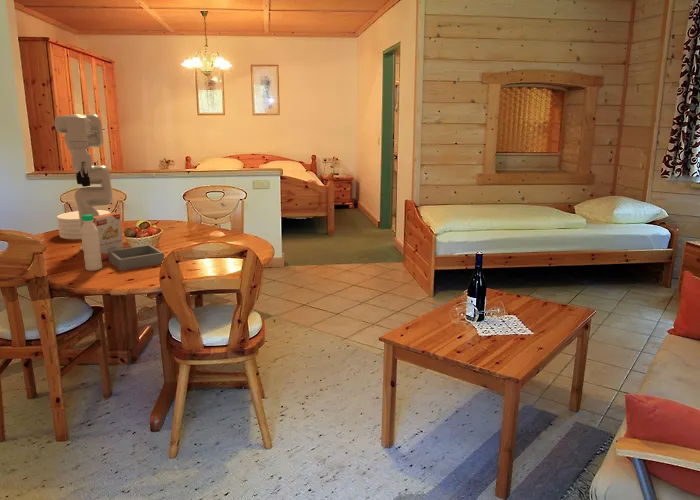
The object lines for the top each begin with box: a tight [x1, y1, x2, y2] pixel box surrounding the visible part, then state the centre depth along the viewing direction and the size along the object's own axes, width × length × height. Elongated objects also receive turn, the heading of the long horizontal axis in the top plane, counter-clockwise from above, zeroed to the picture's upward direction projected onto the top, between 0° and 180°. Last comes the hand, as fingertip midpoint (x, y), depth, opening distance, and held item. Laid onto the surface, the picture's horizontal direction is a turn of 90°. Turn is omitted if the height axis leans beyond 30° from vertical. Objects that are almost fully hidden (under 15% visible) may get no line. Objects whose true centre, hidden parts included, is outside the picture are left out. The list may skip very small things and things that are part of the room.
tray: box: [108, 244, 165, 271], centre depth 270 cm, size 20×20×5 cm
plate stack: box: [56, 209, 111, 240], centre depth 330 cm, size 28×28×12 cm
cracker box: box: [93, 212, 124, 261], centre depth 278 cm, size 14×6×21 cm, turn 153°
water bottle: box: [81, 215, 103, 272], centre depth 257 cm, size 7×7×25 cm
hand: (83, 185), depth 251 cm, fingers open, 9 cm apart
